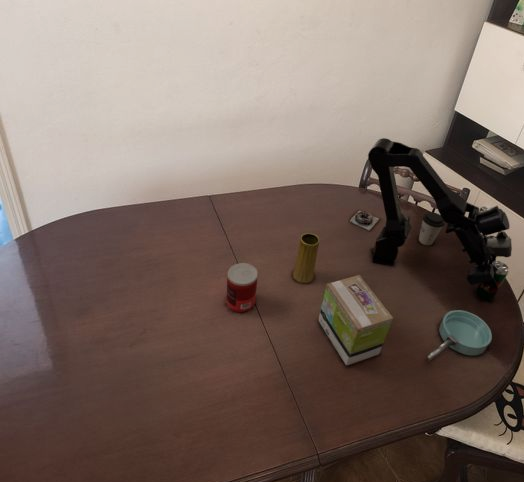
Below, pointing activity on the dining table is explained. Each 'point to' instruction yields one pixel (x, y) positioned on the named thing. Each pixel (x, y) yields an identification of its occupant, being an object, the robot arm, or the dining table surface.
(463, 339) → the pan
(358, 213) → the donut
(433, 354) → the pan handle
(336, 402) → the dining table surface
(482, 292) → the soda can
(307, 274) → the vase
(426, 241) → the coffee cup
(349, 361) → the tea box
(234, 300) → the canned food
